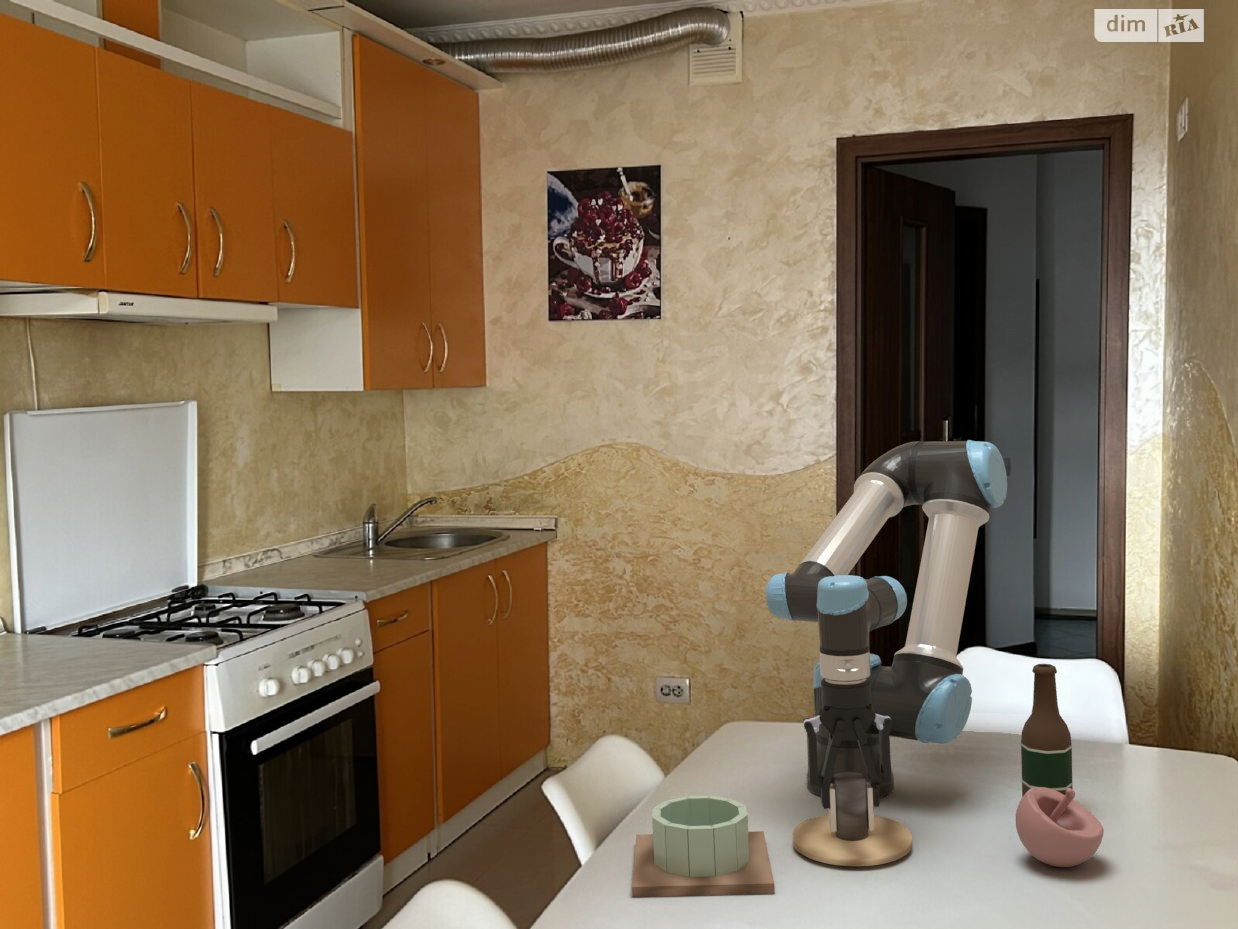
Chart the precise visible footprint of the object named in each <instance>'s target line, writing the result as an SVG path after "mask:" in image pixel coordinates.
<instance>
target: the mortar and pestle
mask: <svg viewBox="0 0 1238 929" xmlns="http://www.w3.org/2000/svg"><path fill="white" fill-rule="evenodd" d="M1075 797H1076V792H1075V790H1074V789H1073V790H1072V789H1071V788H1067V790H1066V795H1063V794H1061V793H1060V792H1058V791H1055V790H1052V789H1050V788H1045V787H1038V788H1035V787H1033V788H1031V789H1029V790H1028V791H1027V792H1026V793H1025V795H1024V796H1023V797H1021V799H1020V801H1019V803H1018V805H1017V807H1016V808H1017V809H1016V811H1015V812H1016V813H1015V828H1016V833H1017V836H1018V838H1019V840H1020V842H1021V844H1022V845H1023V847H1024V848H1025V850H1027V852H1028V853H1029V854H1030V855H1031V856H1033V857H1034V858H1035V859H1037V860H1038V861H1039V862H1042V863H1044V864H1047V865H1048V866H1052V867H1056V868H1057V867H1058V868H1071V867H1075V866H1079V865H1081V864H1082V863H1085V862H1086V861H1088V860H1089V859H1090V858H1092V857H1093V855H1095V854H1096V853H1097V851H1098V849H1099V847H1100V846H1101V844H1102V840H1103V836H1104V831H1105V830H1104V827H1103V825H1102V823H1101V822H1100V821H1099V819H1098V818H1097V817H1095V815H1094V814H1092V812H1090V811H1089V810H1088V809H1087V808H1085V807H1084V806H1083V805H1081V804H1080V803H1078V802H1077V801H1076V800H1075Z"/></svg>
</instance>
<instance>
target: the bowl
mask: <svg viewBox="0 0 1238 929" xmlns="http://www.w3.org/2000/svg"><path fill="white" fill-rule="evenodd" d="M651 814H652V817H651V820H652V834H653V845H654V864H655V865H657V866H658V867H660V868H661V869H663V870H664V871H666V872H668V873H673V874H678V875H683V876H687V877H689V876H690V877H706V876H719V875H722V874H726V873H730V872H734V871H737V870H739V869H740V868H741V867H743V866H744V865H745V864H747V863H748V862H749V842H748V832H749V824H748V823H749V821H748V810H747V806H746V805H745V804H743V803H741V802H739V801H737V800H735V799H734V798H729V797H721V796H717V795H709V794H708V795H687V796H682V797H677V798H672V799H667V800H665V801H663V802H661V803H659V804H658V805H656V806H655V807H652V812H651Z"/></svg>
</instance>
